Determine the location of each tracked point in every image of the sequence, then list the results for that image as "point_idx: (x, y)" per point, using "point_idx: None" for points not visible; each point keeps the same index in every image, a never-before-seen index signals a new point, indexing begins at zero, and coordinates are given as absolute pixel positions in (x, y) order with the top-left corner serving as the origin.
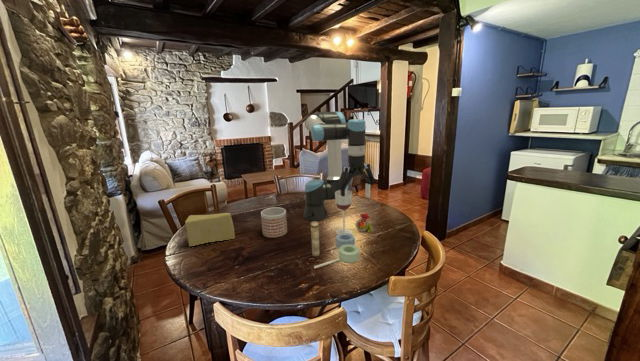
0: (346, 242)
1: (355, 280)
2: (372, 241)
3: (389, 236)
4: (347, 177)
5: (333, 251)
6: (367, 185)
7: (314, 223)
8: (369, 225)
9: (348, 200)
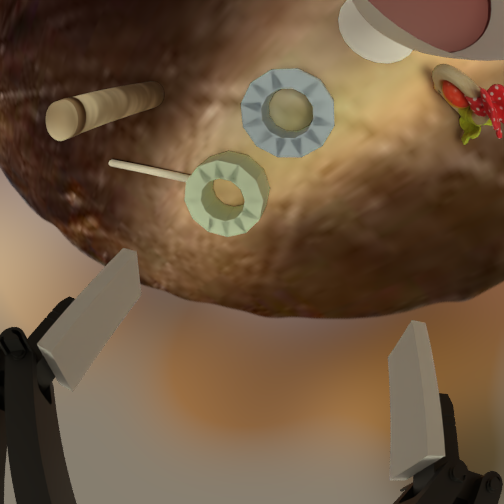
0: (261, 146)
1: (172, 269)
2: (397, 180)
3: (472, 212)
4: (28, 496)
5: (214, 117)
6: (404, 455)
7: (56, 125)
8: (478, 127)
9: (422, 51)
